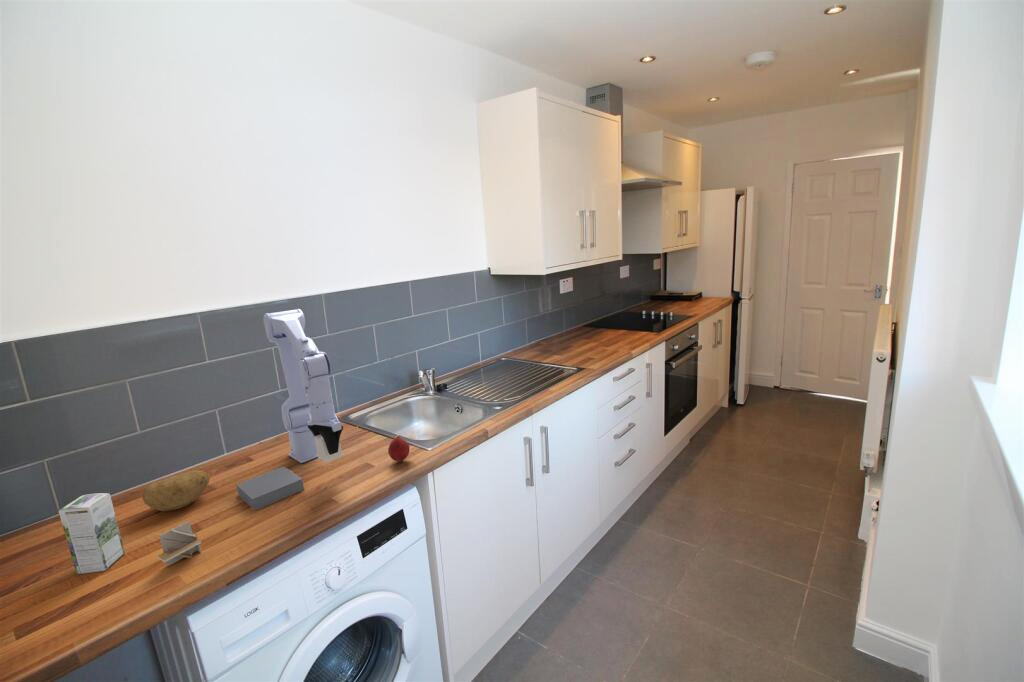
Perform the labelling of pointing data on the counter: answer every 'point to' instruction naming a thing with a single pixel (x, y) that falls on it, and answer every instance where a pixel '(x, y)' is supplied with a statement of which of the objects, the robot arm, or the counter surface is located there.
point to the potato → (176, 491)
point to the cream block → (325, 450)
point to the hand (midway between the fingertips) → (329, 450)
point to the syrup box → (92, 533)
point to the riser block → (269, 487)
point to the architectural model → (178, 544)
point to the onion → (398, 449)
